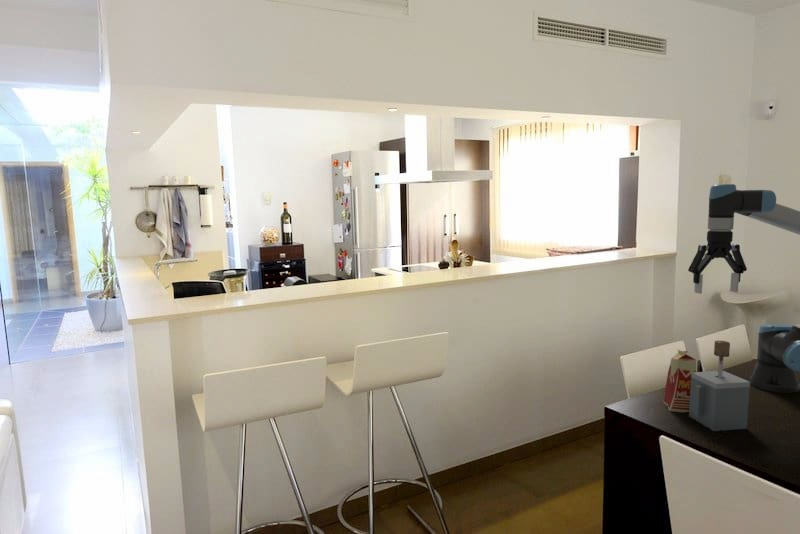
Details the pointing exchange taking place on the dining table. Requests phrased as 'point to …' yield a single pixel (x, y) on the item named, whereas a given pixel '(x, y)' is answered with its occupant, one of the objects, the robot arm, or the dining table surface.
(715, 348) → the plunger
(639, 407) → the dining table surface
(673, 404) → the milk carton
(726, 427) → the grey box with hole
